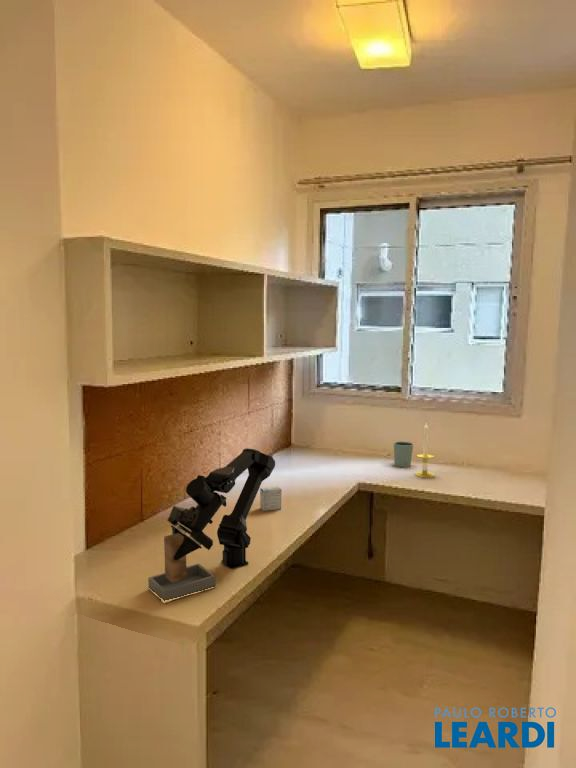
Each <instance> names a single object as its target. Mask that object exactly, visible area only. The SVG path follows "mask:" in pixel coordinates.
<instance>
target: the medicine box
mask: <svg viewBox="0 0 576 768" xmlns="http://www.w3.org/2000/svg"><path fill="white" fill-rule="evenodd" d="M259 490H260V491H259V492H260V493H259V495H260V496H259V498H260V499H259V502H260V503H259V506H260V510H261V511H263V512H269V511H275V510H276V511H278V510H282V488H281V487H279V486H278V485H277V486H269V487H267V486H266V487H260V488H259Z"/></svg>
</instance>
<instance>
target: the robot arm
mask: <svg viewBox="0 0 576 768" xmlns="http://www.w3.org/2000/svg"><path fill="white" fill-rule="evenodd" d="M275 467H276V460H275V459H274V457H273V456H272V455H268V454H266V453H263V452H261V451H260V450H258V449H254V448H248V447H246V448H244V449H243V450H242V451H241V453H240V454H239V455H237V457H234V459H232V460H231V462H229V463H228V464H227V465H225V466H224V467H219V468H216V469H214V470H212V471H210V472H209V474H207V476H206V477H205V476H204V475H200V474H199V475H197V477H196V478H194V479H192V480H191V481H189V483H188V484H187V485H186V487H185V492H186V495H188V497H190V498H191V499H192V500H193V501H194V502H195V503H196V504H197V505H196V506H195V507H194V506H191V507H190V508H187V507H186V508H184V507H179V506H176V505H173V506H172V509H171V511H170V514H169V517H168V518H167V522H168V523H170V527H171V531H172V533H171V535H173V534H177V533H179V534H181V535H182V536H184V541H183V543H182V545H181V546H180V548H179V549H178V551H177V552H176V554H175V556H174V558H173V559H174V560H178V559H180V558H182V557H183V556H185V555H186V556H187V555H189V554H191V553H192V552H194V551H196V550H198V549H203V548H204V549H206V550H208V551H210V550H211V548H212V547H213V546H214V540H213V539H212V538H211V537H210V536H208V535H207V534H206V533H205V532H203V531H204V530H205V528H206V527H207V525H208V524H210V525H212V523H213V522H214V521H213V520H212V519H213V518H214V516H215V515H216V513H218V511H219V510H220V508H221V506H222V507H224V508H226V507H227V497H226V496H224V495H223V494H228V493H230V492H231V490H232V489H233V488H234V487H235V485H236V480H237V479H238V477H240V476H241V475H242V474H243V473H244V472H245V471H246V470H247V471H248V475H247V478H246V480H245V483H244V485H243V487H242V489H241V492H240V493H239V496H238V498H237V500H236V502H235V505H234V507H233V510H232V511H231V513H230V514H224V515H223V516H222V518H221V521H220V522H219V524H218V527H217V531H216V532H217V533H216V536H217V538H218V542H219V545H221V546H223V550H222V559H221V561H220V563H221V564H223V565H225V566H226V567H227V568H229V569H231V570H233V569H237V568H239V567H242V566H246V565H247V566H248V565H249V561H247V559H246V555H247V553H246V552H247V549H248V548H249V546H250V545H251V539H252V538H251V537H250V535H249V534H248V533H247V531H248V527H247V526H248V525H247V521H246V520H247V517H248V515H249V513H250V511H251V508H252V506H253V504H254V502H255V499H256V496H257V495H258V492H259V490H260V488H261V485H262V483H263V481H265V480H266V479H268V478H269V477H270V476H271V475H272V472H273V471H274V469H275ZM220 493H223V494H220ZM186 533H187V534H188V535H189V536H188V535H187V534H186ZM202 546H203V547H202Z"/></svg>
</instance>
